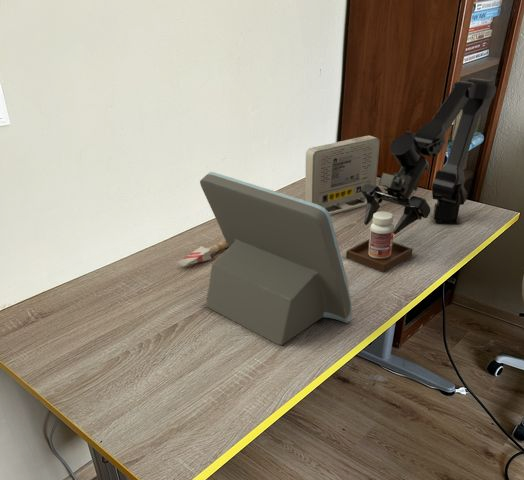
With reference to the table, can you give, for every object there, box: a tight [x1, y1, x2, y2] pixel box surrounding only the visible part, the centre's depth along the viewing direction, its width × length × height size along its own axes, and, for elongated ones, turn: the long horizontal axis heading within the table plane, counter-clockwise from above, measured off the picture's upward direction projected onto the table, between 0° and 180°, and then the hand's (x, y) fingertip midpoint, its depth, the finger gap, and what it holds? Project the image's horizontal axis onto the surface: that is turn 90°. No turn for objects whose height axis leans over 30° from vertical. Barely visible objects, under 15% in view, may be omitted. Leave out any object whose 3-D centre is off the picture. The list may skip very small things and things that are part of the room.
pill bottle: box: [368, 211, 395, 259], centre depth 148 cm, size 6×6×11 cm
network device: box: [304, 135, 380, 216], centre depth 176 cm, size 26×9×20 cm, turn 120°
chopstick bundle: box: [176, 240, 229, 267], centre depth 154 cm, size 4×3×20 cm
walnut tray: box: [345, 238, 414, 273], centre depth 151 cm, size 13×12×2 cm
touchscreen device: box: [199, 171, 353, 346], centre depth 122 cm, size 35×20×30 cm, turn 45°
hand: (379, 228), depth 146 cm, fingers open, 9 cm apart
